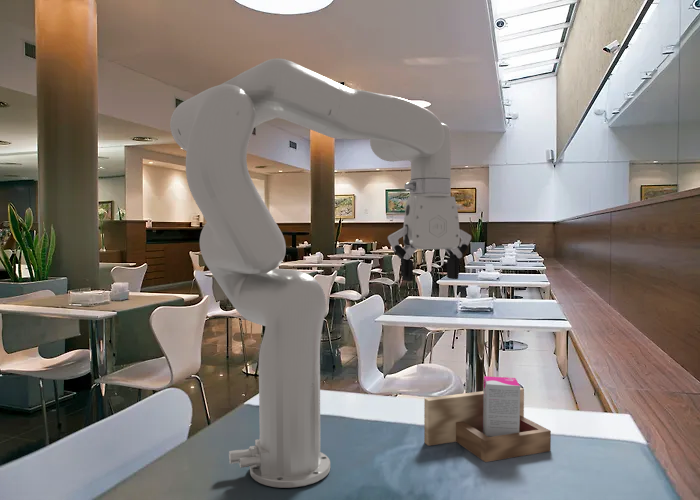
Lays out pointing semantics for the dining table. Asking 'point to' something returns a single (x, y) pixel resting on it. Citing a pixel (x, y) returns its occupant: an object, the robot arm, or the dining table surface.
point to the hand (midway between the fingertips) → (430, 279)
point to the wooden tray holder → (479, 428)
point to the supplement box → (501, 406)
